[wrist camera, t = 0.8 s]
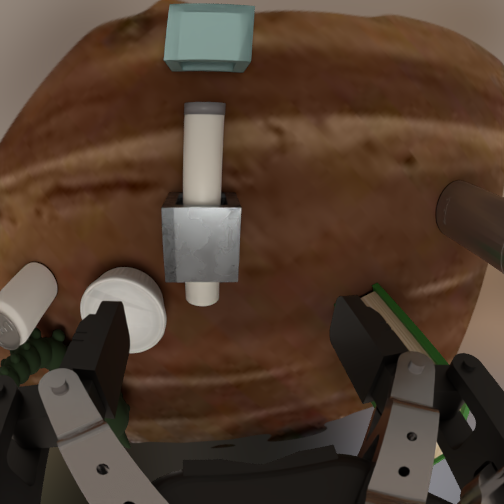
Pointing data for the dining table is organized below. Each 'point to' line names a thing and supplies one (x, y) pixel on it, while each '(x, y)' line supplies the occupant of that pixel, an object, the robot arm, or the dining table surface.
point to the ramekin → (130, 304)
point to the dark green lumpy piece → (50, 357)
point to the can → (25, 303)
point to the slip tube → (202, 174)
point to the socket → (209, 37)
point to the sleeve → (201, 239)
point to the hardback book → (406, 336)
